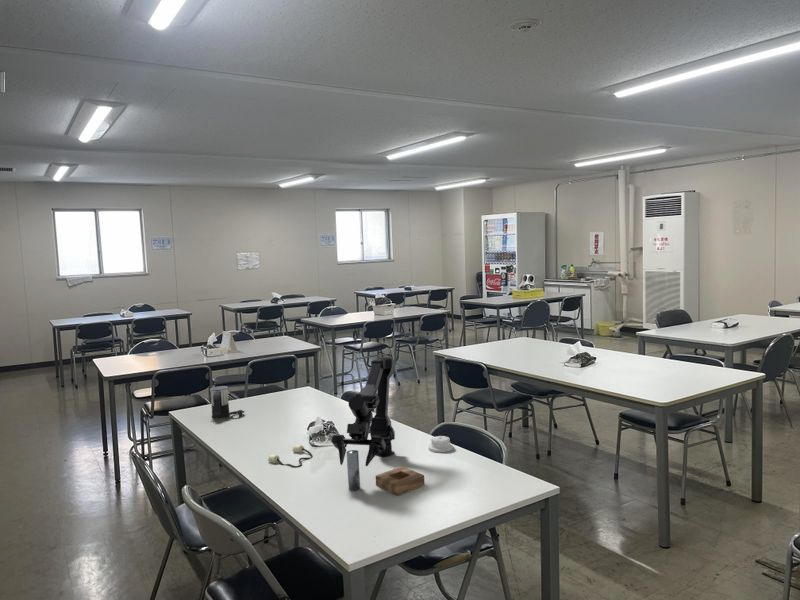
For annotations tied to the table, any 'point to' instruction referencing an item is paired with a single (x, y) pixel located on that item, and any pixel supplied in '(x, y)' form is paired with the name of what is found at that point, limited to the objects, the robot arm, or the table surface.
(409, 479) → the walnut bore block
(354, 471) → the steel pin
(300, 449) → the cable
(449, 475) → the table surface
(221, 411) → the milk frother
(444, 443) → the mechanical component
